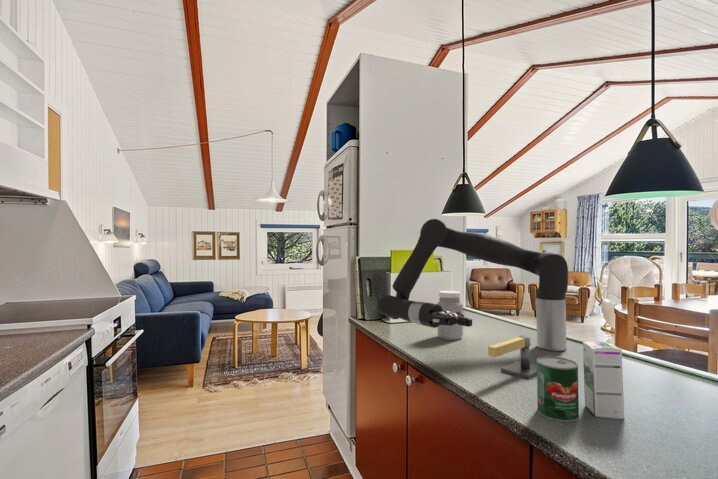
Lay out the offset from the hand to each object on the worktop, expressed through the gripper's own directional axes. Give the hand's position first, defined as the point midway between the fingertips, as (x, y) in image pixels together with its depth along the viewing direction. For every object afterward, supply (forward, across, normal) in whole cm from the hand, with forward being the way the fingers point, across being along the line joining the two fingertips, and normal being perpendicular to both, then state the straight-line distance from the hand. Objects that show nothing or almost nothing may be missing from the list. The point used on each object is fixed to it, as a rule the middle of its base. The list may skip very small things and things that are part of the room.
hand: (470, 322), depth 108 cm
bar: (+10, +4, +6) cm, 13 cm away
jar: (-28, +26, +14) cm, 41 cm away
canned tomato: (+28, -10, +14) cm, 33 cm away
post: (+10, +11, +13) cm, 20 cm away
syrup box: (+34, -2, +13) cm, 37 cm away
